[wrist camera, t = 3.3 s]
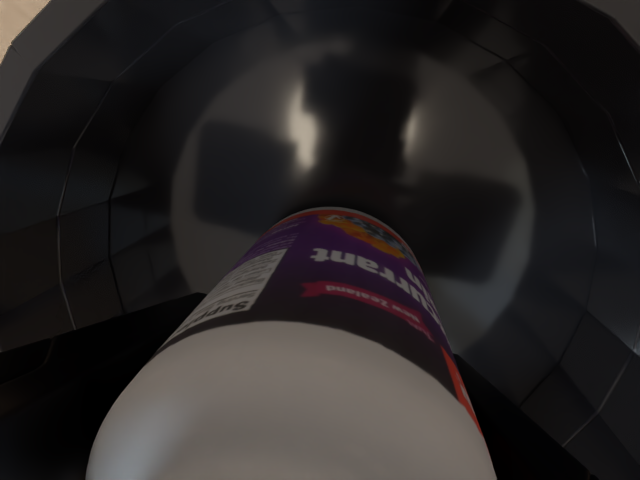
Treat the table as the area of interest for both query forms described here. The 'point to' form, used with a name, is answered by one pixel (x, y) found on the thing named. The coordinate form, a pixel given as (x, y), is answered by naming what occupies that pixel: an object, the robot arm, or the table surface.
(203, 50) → the pan
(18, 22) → the table surface
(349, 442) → the pill bottle
